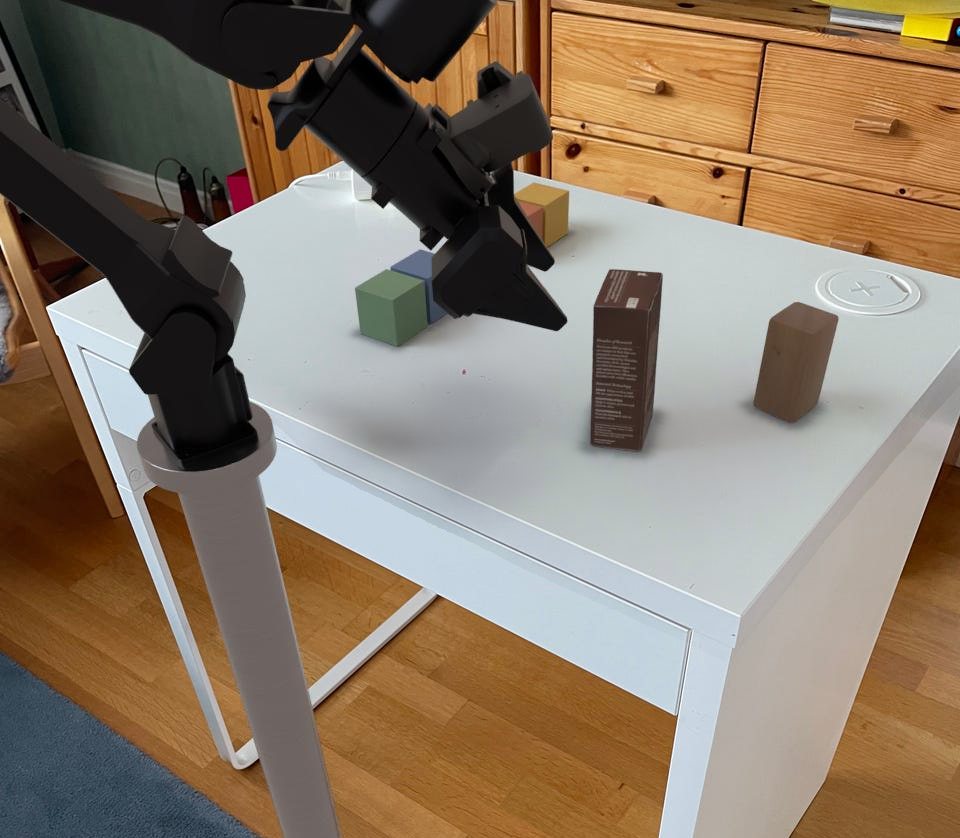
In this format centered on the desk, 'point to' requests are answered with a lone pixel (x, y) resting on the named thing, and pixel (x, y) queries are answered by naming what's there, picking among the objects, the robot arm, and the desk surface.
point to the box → (624, 358)
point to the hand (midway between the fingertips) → (556, 294)
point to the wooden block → (794, 361)
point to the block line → (408, 284)
